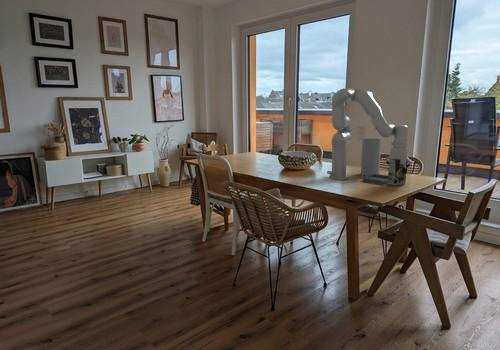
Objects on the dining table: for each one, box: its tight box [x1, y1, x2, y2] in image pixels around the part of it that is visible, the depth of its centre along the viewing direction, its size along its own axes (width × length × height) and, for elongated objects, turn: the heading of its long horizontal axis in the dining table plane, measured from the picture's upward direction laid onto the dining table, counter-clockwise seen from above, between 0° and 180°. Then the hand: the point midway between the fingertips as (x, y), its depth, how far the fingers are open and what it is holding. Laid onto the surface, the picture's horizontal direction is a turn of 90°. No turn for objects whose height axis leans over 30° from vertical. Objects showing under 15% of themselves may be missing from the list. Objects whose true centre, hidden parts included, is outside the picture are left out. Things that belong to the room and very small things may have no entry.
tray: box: [362, 173, 389, 186], centre depth 228 cm, size 15×16×2 cm
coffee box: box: [387, 159, 409, 186], centre depth 216 cm, size 9×6×16 cm
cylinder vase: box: [360, 138, 382, 177], centre depth 244 cm, size 12×12×25 cm
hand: (397, 172), depth 217 cm, fingers closed on coffee box, 8 cm apart
